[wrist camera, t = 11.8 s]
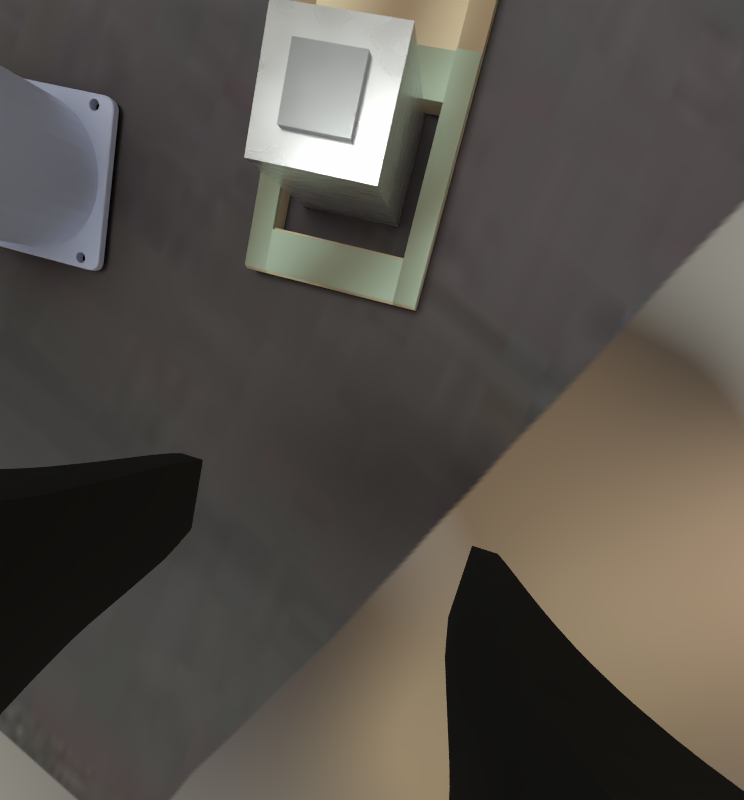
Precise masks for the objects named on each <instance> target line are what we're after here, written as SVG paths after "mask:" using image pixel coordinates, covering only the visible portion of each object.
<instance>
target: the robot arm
mask: <svg viewBox="0 0 744 800" xmlns="http://www.w3.org/2000/svg"><path fill="white" fill-rule="evenodd" d="M98 104H99V108H98V110H97V111H96V107H97V105H98ZM118 115H119V108H118V105H117V103H116V102H115V101H114V100H113V99H111V98H110V97H108V96H106V95H101V94H96V93H91V92H86V91H82V90H77V89H72V88H67V87H62V86H57V85H53V84H48V83H43V82H38V81H33V80H29V79H24V78H22V77H20V76H18V75H16V74H15V73H13V72H11V71H9V70H8V69H6V68H4V67H2V66H1V65H0V246H1V247H5V248H9V249H12V250H16V251H20V252H24V253H27V254H31V255H35V256H39V257H42V258H46V259H50V260H54V261H57V262H61V263H65V264H68V265H72V266H76V267H80V268H83V269H87V270H92V271H98V270H100V269H101V268H102V267H103V263H104V254H105V244H106V234H107V224H108V214H109V204H110V194H111V184H112V174H113V165H114V155H115V145H116V135H117V125H118ZM83 255H85V261H83ZM202 462H203V460H201V459H198V458H195V457H191V456H188V455H185V454H182V453H171V454H158V455H148V456H140V457H132V458H124V459H116V460H108V461H100V462H91V463H81V464H71V465H61V466H51V467H38V468H21V469H0V714H1V713H2V712H3V711H4V710H5V709H6V708H7V707H8V705H9V704H10V703H11V702H12V701H13V700H14V699H15V698H16V697H17V696H18V695H19V694H20V693H21V691H22V690H23V689H24V688H25V687H26V686H27V685H28V684H29V683H30V682H31V681H32V680H33V679H34V678H35V677H36V676H37V675H38V674H39V673H40V672H41V670H42V669H43V668H44V667H45V666H46V665H47V664H48V663H49V662H50V661H51V660H52V659H53V658H54V657H55V656H56V655H57V654H58V653H59V652H60V651H61V650H62V649H63V648H64V647H65V646H66V645H67V644H68V643H69V642H70V641H71V640H72V639H73V638H74V637H75V636H76V635H77V634H79V633H80V632H81V631H82V630H83V629H84V628H85V627H86V626H87V625H88V624H89V623H91V622H92V621H93V620H94V619H95V618H97V617H98V616H99V615H100V614H101V613H102V612H104V611H105V610H106V609H107V608H108V607H109V606H111V605H112V604H113V603H114V602H115V601H116V600H118V599H119V598H120V597H121V596H122V595H123V594H125V593H126V592H127V591H128V590H129V589H131V588H132V587H133V586H134V585H135V584H136V583H138V582H139V581H140V580H141V579H142V578H143V577H145V576H146V575H147V574H148V573H149V572H150V571H151V570H153V569H154V568H155V567H156V566H157V565H158V564H159V563H161V562H162V561H163V560H164V559H165V558H166V557H167V556H168V555H169V554H170V553H171V552H172V550H173V549H174V548H175V547H176V546H177V545H178V544H179V543H180V541H181V540H182V539H183V538H184V537H185V536H186V534H187V533H188V532H189V531H190V530H191V527H192V521H193V516H194V510H195V504H196V498H197V492H198V486H199V480H200V474H201V468H202ZM445 667H446V668H445V670H446V694H447V695H446V696H447V718H448V741H449V761H450V762H449V763H450V764H449V765H450V766H449V767H450V792H449V793H450V794H449V800H744V791H743V790H741V789H740V788H738V787H737V786H736V785H735V784H733V783H732V782H731V781H729V780H728V779H726V778H725V777H724V776H722V775H721V774H720V773H718V772H717V771H716V770H714V769H713V768H712V767H710V766H709V765H707V764H706V763H705V762H704V761H702V760H701V759H700V758H699V757H697V756H696V755H695V754H693V753H692V752H691V751H690V750H689V749H687V748H686V747H685V746H683V745H682V744H681V743H680V742H678V741H677V740H676V739H675V738H673V737H672V736H671V735H670V734H669V733H667V732H666V731H665V730H664V729H663V728H662V727H660V726H659V725H658V724H657V723H656V722H655V721H653V720H652V719H651V718H650V717H649V716H647V715H646V714H645V713H644V712H642V710H640V709H639V708H638V707H637V706H636V705H635V704H633V703H632V702H631V701H630V700H629V699H628V698H627V697H626V696H624V695H623V694H622V693H621V692H620V691H619V690H618V689H617V688H616V687H615V686H614V685H613V684H612V683H611V682H610V681H609V680H607V679H606V678H605V677H604V676H603V675H602V674H601V673H600V672H599V671H598V670H597V669H596V668H595V667H594V666H593V665H592V664H591V663H590V662H589V661H588V660H587V659H586V658H585V657H584V656H583V655H582V654H581V653H580V652H579V651H578V650H577V649H576V648H575V647H574V645H573V644H572V643H571V642H570V641H569V640H568V639H567V638H566V637H565V635H564V634H563V633H562V632H561V631H560V630H559V629H558V628H557V627H556V625H555V624H554V623H553V622H552V621H551V619H550V618H549V617H548V616H547V615H546V614H545V612H544V611H543V610H542V609H541V608H540V606H539V605H538V604H537V603H536V601H535V600H534V599H533V598H532V596H531V595H530V594H529V593H528V591H527V590H526V589H525V588H524V586H523V585H522V584H521V583H520V581H519V580H518V578H517V577H516V576H515V575H514V573H513V572H512V571H511V569H510V568H509V567H508V566H507V565H506V563H505V562H504V561H503V560H502V558H501V557H500V556H499V555H498V554H496V553H493V552H490V551H487V550H484V549H481V548H477V547H474V546H472V548H471V551H470V554H469V557H468V560H467V563H466V566H465V569H464V572H463V575H462V578H461V581H460V584H459V587H458V590H457V593H456V596H455V599H454V602H453V605H452V608H451V611H450V614H449V617H448V627H447V638H446V652H445Z"/></svg>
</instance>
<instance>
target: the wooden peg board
mask: <svg viewBox="0 0 744 800" xmlns="http://www.w3.org/2000/svg"><path fill="white" fill-rule="evenodd" d="M293 1H296V2H303V3H309V4H315V5H321V6H327V7H333V8H340V9H346V10H352V11H358V12H364V13H370V14H376V15H383V16H389V17H395V18H401V19H407V20H413V21H415V29H416V39H417V48H418V57H419V67H420V76H421V85H422V95H423V104H424V113H426V114H431V115H436V116H439V120H438V124H437V128H436V132H435V136H434V140H433V144H432V148H431V152H430V156H429V160H428V164H427V168H426V172H425V176H424V180H423V184H422V188H421V192H420V196H419V199H418V203H417V207H416V211H415V215H414V219H413V223H412V227H411V231H410V235H409V239H408V243H407V247H406V251H405V255H404V258H400V257H396V256H392V255H388V254H384V253H379V252H375V251H371V250H367V249H363V248H358V247H354V246H350V245H346V244H342V243H337V242H333V241H329V240H325V239H321V238H316V237H312V236H308V235H304V234H300V233H295V232H291V231H287V230H284V226H285V221H286V215H287V210H288V205H289V200H290V194H289V193H287V192H286V191H285V190H284V189H282V188H281V187H280V186H279V185H278V184H276V183H275V182H274V181H273V180H271V179H270V178H269V177H268V176H266V175H265V174H264V173H263V172H262V171H261V174H260V180H259V185H258V191H257V197H256V203H255V209H254V214H253V220H252V226H251V232H250V238H249V243H248V249H247V255H246V261H245V265H246V266H247V267H246V268H249V269H253V270H256V271H260V272H264V273H268V274H272V275H276V276H280V277H284V278H288V279H292V280H296V281H300V282H304V283H308V284H312V285H316V286H320V287H323V288H327V289H331V290H335V291H339V292H343V293H347V294H351V295H355V296H359V297H363V298H367V299H371V300H375V301H379V302H383V303H387V304H391V305H395V306H399V307H403V308H407V309H410V310H414V311H416V310H417V306H418V303H419V299H420V295H421V291H422V287H423V284H424V280H425V276H426V272H427V269H428V265H429V261H430V257H431V254H432V250H433V246H434V242H435V238H436V235H437V231H438V227H439V223H440V220H441V216H442V212H443V208H444V205H445V201H446V197H447V193H448V189H449V186H450V182H451V178H452V174H453V171H454V167H455V163H456V159H457V156H458V152H459V148H460V144H461V140H462V137H463V133H464V129H465V125H466V122H467V118H468V114H469V110H470V107H471V103H472V99H473V95H474V91H475V88H476V84H477V80H478V76H479V73H480V69H481V65H482V61H483V58H484V54H485V50H486V46H487V43H488V39H489V35H490V31H491V27H492V24H493V20H494V16H495V12H496V9H497V5H498V1H499V0H293Z"/></svg>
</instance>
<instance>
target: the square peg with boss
mask: <svg viewBox="0 0 744 800" xmlns="http://www.w3.org/2000/svg"><path fill="white" fill-rule="evenodd" d="M424 120H425V113H424V104H423V95H422V85H421V76H420V67H419V57H418V48H417V39H416V29H415V21H413V20H407V19H401V18H395V17H389V16H383V15H376V14H370V13H364V12H358V11H352V10H346V9H340V8H333V7H327V6H321V5H315V4H309V3H303V2H296V1H290V0H269V6H268V12H267V18H266V24H265V31H264V37H263V43H262V49H261V56H260V62H259V68H258V75H257V81H256V87H255V93H254V100H253V106H252V112H251V118H250V125H249V131H248V137H247V144H246V150H245V156H244V158H246V159H247V160H248V161H249V162H251V163H252V164H253V165H254V166H255V167H257V168H258V169H259V170H260V171H262V172H263V173H264V174H265V175H266V176H268V177H269V178H270V179H271V180H273V181H274V182H275V183H276V184H278V185H279V186H280V187H281V188H282V189H284V190H285V191H286V192H287V193H289V194H290V195H291V196H292V197H293V198H295V199H296V200H297V201H298V202H300V203H301V204H302V205H303V206H304V207H308V208H313V209H317V210H322V211H326V212H331V213H335V214H340V215H344V216H348V217H353V218H357V219H362V220H366V221H371V222H375V223H380V224H384V225H388V226H393V227H397V228H399V224H400V220H401V215H402V211H403V207H404V203H405V199H406V195H407V191H408V187H409V182H410V178H411V174H412V170H413V166H414V162H415V158H416V153H417V149H418V145H419V141H420V137H421V133H422V129H423V125H424Z"/></svg>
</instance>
